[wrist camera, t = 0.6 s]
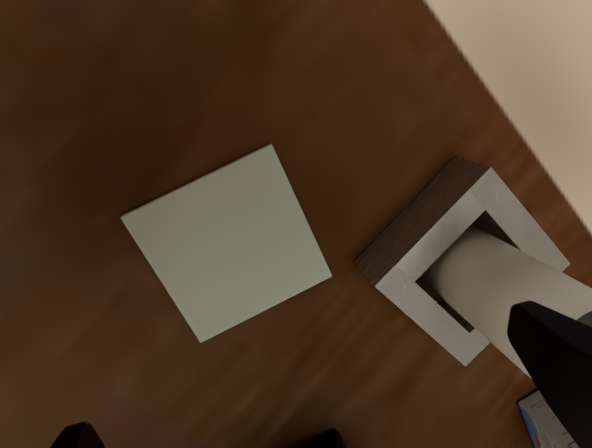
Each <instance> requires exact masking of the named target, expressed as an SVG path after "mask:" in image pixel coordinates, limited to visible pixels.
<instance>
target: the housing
mask: <svg viewBox="0 0 592 448" xmlns="http://www.w3.org/2000/svg"><path fill="white" fill-rule="evenodd" d="M474 221H476V222H477V223H478V224H479V225H480V226H481V227H482V228H483V230H484V231H485V232H487V233H489V234H491V235H493V236H495V237H496V238H498V239H500V240H502V241H504V242H506V243H508V244H509V245H511V246H513V247H515V248H517V249H519V250H521V251H523V252H524V253H526V254H528V255H530V256H532V257H534V258H536V259H538V260H539V261H541V262H543V263H545V264H547V265H549V266H551V267H552V268H554V269H556V270H558V271H560V272H563V271H564V270H565V269H566V268H567V267H568V266H569V265H570V263H569V262H568V260H567V259H566V258H565V257H564V255H563V254H562V253H561V252H560V251H559V249H558V248H557V247H556V246H555V244H554V243H553V242H552V241H551V240H550V238H549V237H548V236H547V235H546V234H545V232H544V231H543V230H542V229H541V227H540V226H539V225H538V224H537V223H536V221H535V220H534V219H533V218H532V216H531V215H530V214H529V213H528V212H527V210H526V209H525V208H524V207H523V205H522V204H521V203H520V202H519V201H518V199H517V198H516V197H515V196H514V194H513V193H512V192H511V191H510V190H509V188H508V187H507V186H506V185H505V183H504V182H503V181H502V180H501V179H500V177H499V176H498V175H497V174H496V172H495V171H494V170H493V169H492V168H491V167H489V166H486V165H483V164H480V163H476V162H473V161H470V160H467V159H463V158H460V157H457V156H455V157H454V158H453V159H452V160H451V161H450V162H449V163H448V164H447V165H446V167H445V168H444V169H443V170H442V171H441V172H440V173H439V174H438V175H437V176H436V177H435V178H434V179H433V180H432V181H431V182H430V183H429V184H428V185H427V186H426V187H425V188H424V189H423V190H422V191H421V193H420V194H419V195H418V196H417V197H416V198H415V199H414V200H413V201H412V202H411V203H410V204H409V205H408V206H407V207H406V208H405V209H404V210H403V211H402V212H401V213H400V214H399V215H398V216H397V217H396V219H395V220H394V221H393V222H392V223H391V224H390V225H389V226H388V227H387V228H386V229H385V230H384V231H383V232H382V233H381V234H380V235H379V236H378V237H377V238H376V239H375V240H374V241H373V242H372V243H371V245H370V246H369V247H368V248H367V249H366V250H365V251H364V252H363V253H362V254H361V255H360V256H359V257H358V258H357V259H356V260H355V261H354V263H355V264H356V265H357V266H358V268H359V269H360V270H361V271H362V272H363V273H364V275H365V276H366V277H367V278H368V279H369V280H370V282H371V283H372V284H373V285H374V286H375V287H376V288H377V289H378V290H379V291H380V292H381V293H383V294H384V295H385V296H386V297H387V298H388V299H389V300H391V301H392V302H393V303H394V304H395V305H396V306H397V307H398V308H400V309H401V310H402V311H403V312H404V313H405V314H406V315H408V316H409V317H410V318H411V319H412V320H413V321H414V322H416V323H417V324H418V325H419V326H420V327H421V328H422V329H423V330H425V331H426V332H427V333H428V334H429V335H430V336H431V337H433V338H434V339H435V340H436V341H437V342H438V343H439V344H440V345H442V346H443V347H444V348H445V349H446V350H447V351H448V352H450V353H451V354H452V355H453V356H454V357H455V358H456V359H457V360H459V361H460V362H461V363H462V364H463V365H464V366H466V365H468V364H469V363H470V362H471V361H472V360H473V359H474V358H475V357H476V356H477V355H478V354H479V353H480V352H481V351H482V350H483V349H484V348H485V347H486V346H487V345H488V344H489V343H490V341H489V340H488V339H487V338H485V337H484V336H483V335H482V334H481V333H480V332H479V331H478V330H477V329H475V328H474V327H473V326H472V325H471V324H470V323H469V322H468V321H467V320H465V319H464V318H463V317H462V316H461V315H460V314H459V313H458V312H457V311H455V310H454V309H453V308H452V307H451V306H450V305H449V304H448V303H447V302H444V303H443V304H442V305H441V306H440V305H439V304H438V303H437V302H436V301H435V300H433V299H432V298H431V297H430V296H429V295H428V294H427V293H426V292H425V291H424V290H423V289H422V288H421V287H420V286H419V285H417V284H416V283H415V281H416V280H417V279H418V278H419V277H420V276H421V275H422V274H423V273H424V272H425V271H426V270H427V269H428V268H429V267H430V266H431V265H432V264H433V263H434V262H435V261H436V260H437V259H438V258H439V257H440V256H441V254H442V253H443V252H444V251H445V250H446V249H447V248H448V247H449V246H450V245H451V244H452V243H453V242H454V241H455V240H456V239H457V238H458V237H459V236H460V235H461V234H462V233H463V232H464V231H465V230H466V229H467V228H468V227H469V226H470V225H471V224H472V223H473V222H474Z"/></svg>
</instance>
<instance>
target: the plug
mask: <svg viewBox="0 0 592 448" xmlns="http://www.w3.org/2000/svg"><path fill="white" fill-rule="evenodd" d="M419 278H420V279H421V280H422V281H423V282H424V283H425V284H427V285H428V286H429V287H430V288H431V289H432V290H433V291H434V292H435V293H437V294H438V295H439V296H440V297H441V298H442V299H443V300H444V301H445V302H447V303H448V304H449V305H450V306H451V307H452V308H453V309H454V310H455V311H457V312H458V313H459V314H460V315H461V316H462V317H463V318H464V319H465V320H467V321H468V322H469V323H470V324H471V325H472V326H473V327H474V328H475V329H477V330H478V331H479V332H480V333H481V334H482V335H483V336H484V337H485V338H487V339H488V340H489V341H490V342H491V343H492V344H493V345H494V346H495V347H497V348H498V349H499V350H500V351H501V352H502V353H503V354H504V355H505V356H507V357H508V358H509V359H510V360H511V361H512V362H513V363H514V364H515V365H517V366H518V367H519V368H520V369H521V370H522V371H523V372H524V373H526V374H527V375H528V376H529V377H530V375H529V373H528V372H527V370H526V368H525V367H524V365H523V363H522V362H521V360H520V358H519V357H518V355H517V353H516V352H515V350H514V348H513V347H512V345H511V343H510V341H509V339H508V336H507V327H508V320H509V314H510V308H511V307H512V305H514V304H517V303H520V302H524V301H534V302H536V303H539V304H541V305H543V306H545V307H548V308H550V309H552V310H555V311H557V312H559V313H561V314H564V315H566V316H568V317H571V318H573V319H575V320H577V321H580V322H582V323H584V324H587V325H589V326H591V327H592V288H590V287H588V286H586V285H584V284H582V283H581V282H579V281H577V280H575V279H573V278H571V277H569V276H567V275H566V274H564V273H562V272H560V271H558V270H556V269H554V268H552V267H551V266H549V265H547V264H545V263H543V262H541V261H539V260H538V259H536V258H534V257H532V256H530V255H528V254H526V253H524V252H523V251H521V250H519V249H517V248H515V247H513V246H511V245H509V244H508V243H506V242H504V241H502V240H500V239H498V238H496V237H495V236H493V235H491V234H489V233H487V232H485V231H483V230H481V229H480V228H478V227H476V226H474V225H472V224H471V225H470V226H469V227H468V228H467V229H466V230H465V231H464V232H463V233H462V234H461V235H460V236H459V237H458V238H457V239H456V240H455V241H454V242H453V243H452V244H451V245H450V246H449V247H448V248H447V249H446V250H445V251H444V252H443V253H442V254H441V256H440V257H439V258H438V259H437V260H436V261H435V262H434V263H433V264H432V265H431V266H430V267H429V268H428V269H427V270H426V271H425V272H424V273H423V274H422V275H421V276H420V277H419ZM530 378H531V377H530ZM531 379H532V378H531Z"/></svg>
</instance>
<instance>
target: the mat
mask: <svg viewBox="0 0 592 448" xmlns="http://www.w3.org/2000/svg"><path fill="white" fill-rule="evenodd" d="M120 218H121V220H122V221H123V223H124V224H125V226H126V228H127V229H128V231H129V232H130V234H131V235H132V237H133V238H134V240H135V242H136V243H137V245H138V246H139V248H140V249H141V251H142V253H143V254H144V256H145V257H146V259H147V260H148V262H149V263H150V265H151V267H152V268H153V270H154V271H155V273H156V274H157V276H158V277H159V279H160V281H161V282H162V284H163V285H164V287H165V288H166V290H167V291H168V293H169V295H170V296H171V298H172V299H173V301H174V302H175V304H176V305H177V307H178V309H179V310H180V312H181V313H182V315H183V316H184V318H185V319H186V321H187V323H188V324H189V326H190V327H191V329H192V330H193V332H194V334H195V335H196V337H197V338H198V340H199V341H200V343H202V342H204V341H206V340H208V339H210V338H212V337H214V336H215V335H217V334H219V333H221V332H223V331H225V330H227V329H229V328H231V327H233V326H235V325H237V324H239V323H241V322H243V321H245V320H247V319H249V318H251V317H253V316H255V315H257V314H259V313H261V312H263V311H265V310H267V309H269V308H271V307H273V306H275V305H277V304H279V303H281V302H282V301H284V300H286V299H288V298H290V297H292V296H294V295H296V294H298V293H300V292H302V291H304V290H306V289H308V288H310V287H312V286H314V285H316V284H318V283H320V282H322V281H324V280H326V279H328V278H330V277H332V275H331V272H330V270H329V268H328V266H327V264H326V261H325V259H324V257H323V255H322V253H321V251H320V248H319V246H318V244H317V242H316V240H315V237H314V235H313V233H312V231H311V229H310V227H309V224H308V222H307V220H306V218H305V216H304V213H303V211H302V209H301V207H300V205H299V202H298V200H297V198H296V196H295V194H294V192H293V189H292V187H291V185H290V183H289V181H288V178H287V176H286V174H285V172H284V170H283V168H282V165H281V163H280V161H279V159H278V157H277V154H276V152H275V150H274V148H273V146H272V144H271V143H270V144H268V145H266V146H264V147H262V148H260V149H258V150H256V151H254V152H252V153H250V154H248V155H246V156H244V157H242V158H239V159H237V160H235V161H233V162H231V163H229V164H227V165H225V166H223V167H221V168H219V169H217V170H215V171H213V172H211V173H209V174H206V175H204V176H202V177H200V178H198V179H196V180H194V181H192V182H190V183H188V184H186V185H184V186H182V187H180V188H178V189H176V190H173V191H171V192H169V193H167V194H165V195H163V196H161V197H159V198H157V199H155V200H153V201H151V202H149V203H147V204H145V205H142V206H140V207H138V208H136V209H134V210H132V211H130V212H128V213H126V214H124V215H122V216H121V217H120Z"/></svg>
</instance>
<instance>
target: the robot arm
mask: <svg viewBox="0 0 592 448" xmlns="http://www.w3.org/2000/svg"><path fill="white" fill-rule="evenodd" d="M507 336H508V339H509V341H510V343H511V345H512V347H513V348H514V350H515V352H516V353H517V355H518V357H519V358H520V360H521V362H522V363H523V365H524V367H525V368H526V370H527V372H528V373H529V375H530V377H531V378H532V380H533V382H534V383H535V385H536V387H537V388H538V390H539V392H540V393H541V395H542V397H543V398H544V400H545V401H546V403H547V404H548V406H549V407H550V409H551V410H552V411H553V413H554V414H555V416H556V417H557V418H558V420H559V421H560V422H561V424H562V425H563V426H564V428H565V429H566V430H567V432H568V433H569V434H570V436H571V437H572V438H573V440H574V441H575V443H576V444H577V445H578V447H579V448H592V327H591V326H589V325H587V324H584V323H582V322H580V321H577V320H575V319H573V318H571V317H568V316H566V315H564V314H561V313H559V312H557V311H555V310H552V309H550V308H548V307H545V306H543V305H541V304H539V303H536V302H534V301H524V302H520V303H517V304H514V305H512V307H511V308H510V314H509V320H508V327H507ZM333 437H334V438H333ZM331 438H332V439H331ZM50 448H105V447H104V444H103V442H102V441H101V439H100V438H99V436H98V434H97V433H96V431H95V430H94V428H93V426H92V425H91V424H90V423H89V422H87V421H84V422H80V423H77V424H73V425H70V426H67V427H66V428H65V429H64V430H63V431H62V432H61V433H60V435H59V436H58V437H57V439H56V440H55V441H54V443H53V444H52V446H51V447H50ZM299 448H347V447H346V445H345V443H344V442H343V440H342V438H341V436H340V434H339V432H338V431H336V430H331V431H329V432H327V433H325V434H323V435H321V436H319V437H318V438H316V439H314V440H312V441H310V442H308V443H306V444H304V445H302V446H301V447H299Z"/></svg>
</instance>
